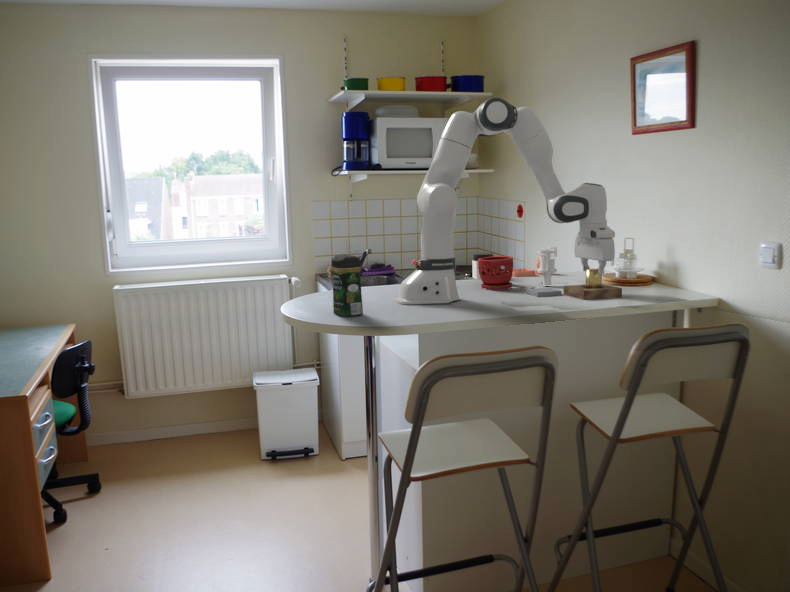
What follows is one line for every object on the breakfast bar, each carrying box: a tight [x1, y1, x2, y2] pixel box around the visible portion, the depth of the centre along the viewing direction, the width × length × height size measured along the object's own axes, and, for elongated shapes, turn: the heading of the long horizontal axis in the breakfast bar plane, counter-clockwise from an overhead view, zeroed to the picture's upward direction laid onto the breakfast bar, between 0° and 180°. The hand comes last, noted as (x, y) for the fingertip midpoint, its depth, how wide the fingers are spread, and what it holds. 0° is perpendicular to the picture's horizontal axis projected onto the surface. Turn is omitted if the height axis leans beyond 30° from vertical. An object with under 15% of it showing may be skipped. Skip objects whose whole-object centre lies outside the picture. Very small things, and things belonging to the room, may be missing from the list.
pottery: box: [507, 254, 544, 278], centre depth 280 cm, size 18×10×10 cm, turn 103°
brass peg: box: [585, 268, 603, 289], centre depth 229 cm, size 5×5×9 cm
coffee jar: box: [330, 254, 364, 318], centre depth 205 cm, size 10×8×19 cm
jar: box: [471, 252, 495, 280], centre depth 271 cm, size 9×8×12 cm
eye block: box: [563, 283, 623, 301], centre depth 230 cm, size 14×14×3 cm
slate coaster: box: [526, 287, 563, 298], centre depth 237 cm, size 9×9×2 cm
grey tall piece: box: [537, 246, 558, 286], centre depth 255 cm, size 7×7×15 cm
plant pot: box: [478, 255, 514, 290], centre depth 253 cm, size 13×13×12 cm
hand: (593, 272), depth 229 cm, fingers open, 8 cm apart
